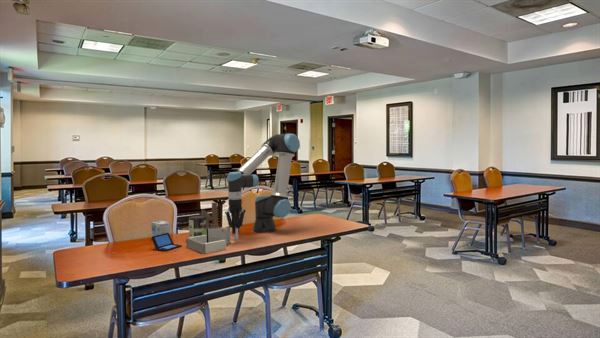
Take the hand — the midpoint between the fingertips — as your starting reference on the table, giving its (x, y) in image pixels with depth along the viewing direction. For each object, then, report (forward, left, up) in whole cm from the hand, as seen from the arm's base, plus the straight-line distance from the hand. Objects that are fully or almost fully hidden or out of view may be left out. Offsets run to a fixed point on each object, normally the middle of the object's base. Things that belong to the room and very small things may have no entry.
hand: (235, 239), depth 225 cm
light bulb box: (+29, -38, -2) cm, 48 cm away
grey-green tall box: (+13, -21, -2) cm, 25 cm away
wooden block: (-7, -44, -2) cm, 45 cm away
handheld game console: (+35, -15, -2) cm, 38 cm away
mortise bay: (+19, 0, -2) cm, 19 cm away
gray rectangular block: (+11, 0, -2) cm, 11 cm away
